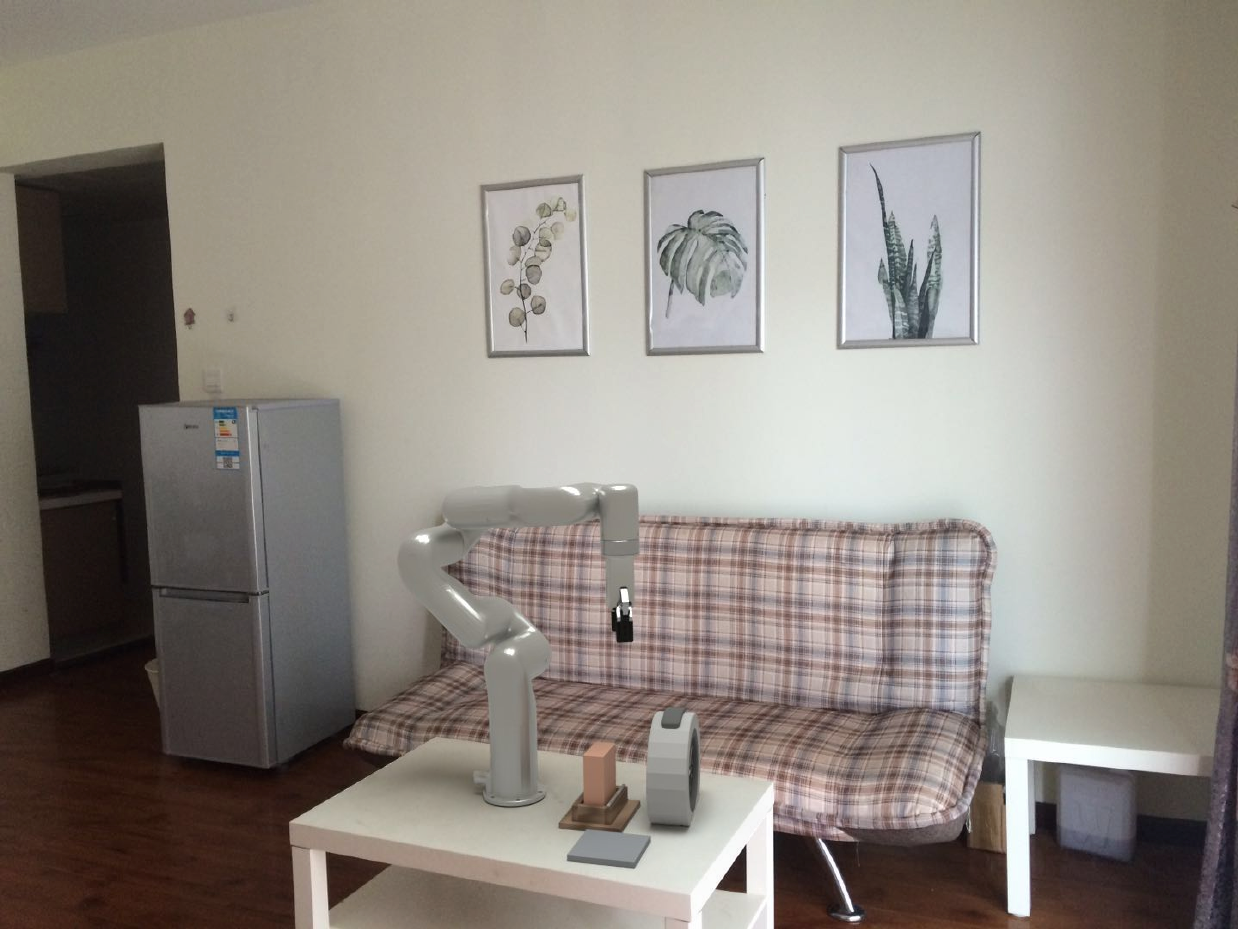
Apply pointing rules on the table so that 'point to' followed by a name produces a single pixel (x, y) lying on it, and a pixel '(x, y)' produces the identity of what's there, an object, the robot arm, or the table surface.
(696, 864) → the table surface
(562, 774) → the table surface
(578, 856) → the mat
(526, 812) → the table surface
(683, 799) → the alarm clock
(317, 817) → the table surface
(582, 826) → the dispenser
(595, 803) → the salmon pink tall block
